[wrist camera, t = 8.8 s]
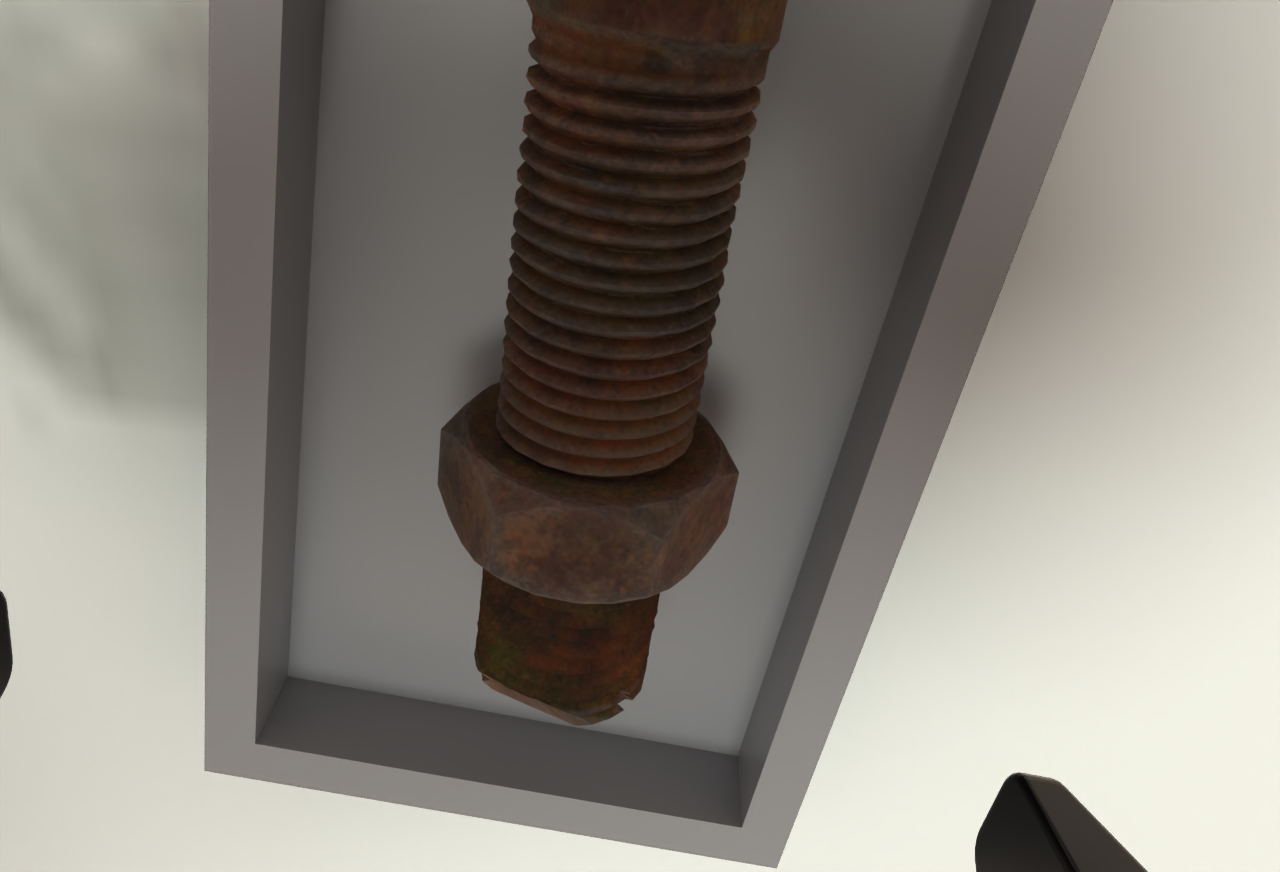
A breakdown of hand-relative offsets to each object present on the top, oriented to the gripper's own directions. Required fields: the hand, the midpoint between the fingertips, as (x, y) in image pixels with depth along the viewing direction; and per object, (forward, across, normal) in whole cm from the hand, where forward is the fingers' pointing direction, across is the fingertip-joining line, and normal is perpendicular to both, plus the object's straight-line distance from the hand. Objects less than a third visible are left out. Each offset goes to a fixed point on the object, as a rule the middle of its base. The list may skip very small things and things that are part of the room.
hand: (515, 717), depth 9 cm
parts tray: (+11, 0, 0) cm, 11 cm away
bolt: (+11, 0, -1) cm, 11 cm away
